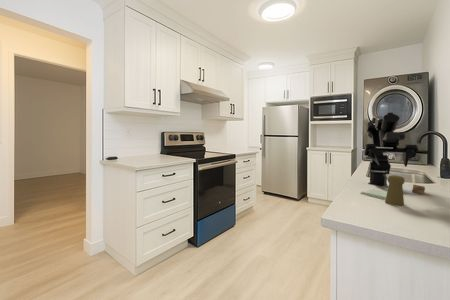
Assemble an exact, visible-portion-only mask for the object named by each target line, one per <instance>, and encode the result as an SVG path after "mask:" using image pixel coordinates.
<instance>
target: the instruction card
mask: <svg viewBox="0 0 450 300" xmlns="http://www.w3.org/2000/svg"><path fill="white" fill-rule="evenodd" d="M388 187H389V186H387V187H385V188H384V190H385V191H386V190H387V191H388ZM404 193H405V194H411V195H417V193H412V189H408V188H404V187H403V194H404Z"/></svg>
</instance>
